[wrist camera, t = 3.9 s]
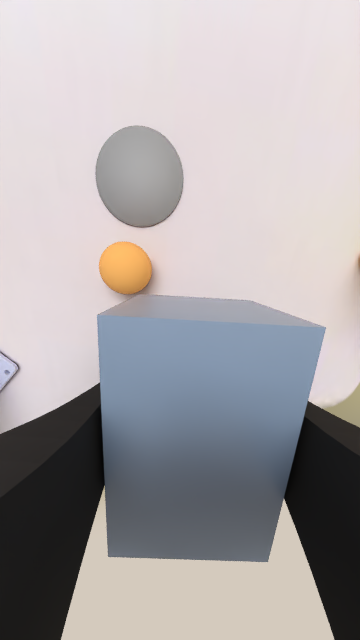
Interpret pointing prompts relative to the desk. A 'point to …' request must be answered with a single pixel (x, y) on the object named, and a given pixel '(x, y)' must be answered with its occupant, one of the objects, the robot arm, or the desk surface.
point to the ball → (125, 267)
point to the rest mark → (139, 176)
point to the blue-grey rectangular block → (200, 423)
